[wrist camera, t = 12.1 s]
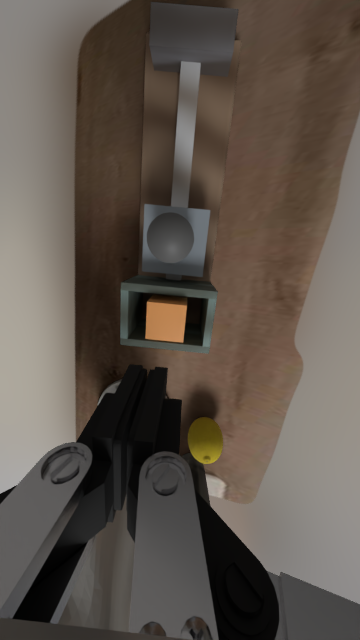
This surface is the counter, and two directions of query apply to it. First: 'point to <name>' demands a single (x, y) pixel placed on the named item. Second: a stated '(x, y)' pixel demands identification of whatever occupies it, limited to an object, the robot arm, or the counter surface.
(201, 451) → the lemon
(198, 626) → the robot arm
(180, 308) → the orange block
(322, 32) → the counter surface
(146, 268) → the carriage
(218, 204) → the rail base
